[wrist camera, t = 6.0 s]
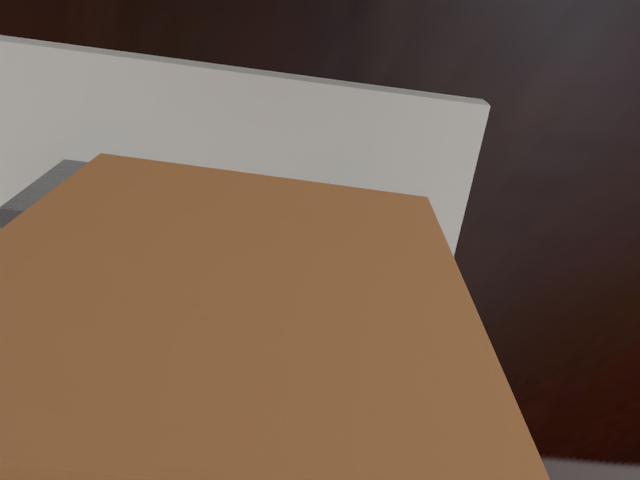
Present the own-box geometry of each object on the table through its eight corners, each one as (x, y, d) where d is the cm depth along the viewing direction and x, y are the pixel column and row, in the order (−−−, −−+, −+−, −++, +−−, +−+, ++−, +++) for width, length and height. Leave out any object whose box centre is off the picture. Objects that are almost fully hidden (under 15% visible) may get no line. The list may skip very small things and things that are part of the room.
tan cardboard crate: (100, 152, 11) (-267, 432, 4) (427, 196, 12) (571, 528, 5) (103, 416, 14) (-131, 864, 7) (372, 449, 14) (413, 914, 7)
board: (-19, 32, 29) (-36, 35, 27) (483, 99, 30) (490, 106, 28) (6, 291, 34) (-7, 304, 33) (425, 339, 35) (429, 355, 34)
